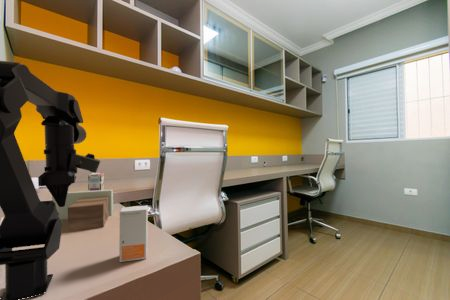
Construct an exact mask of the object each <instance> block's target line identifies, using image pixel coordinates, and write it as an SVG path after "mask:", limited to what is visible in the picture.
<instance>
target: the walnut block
mask: <svg viewBox="0 0 450 300" xmlns="http://www.w3.org/2000/svg"><path fill="white" fill-rule="evenodd" d="M108 218H109V196H108V197H95V198H83V199H78V200H77V201H76V202H75V203H73V204H72V205H71V206H69V207H68V219H67V232H68V233H71V232H77V231H80V232H81V231H84V230H86V231H87V230H95V229H103V228H104V227H105V225H106V223H107V221H108Z"/></svg>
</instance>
